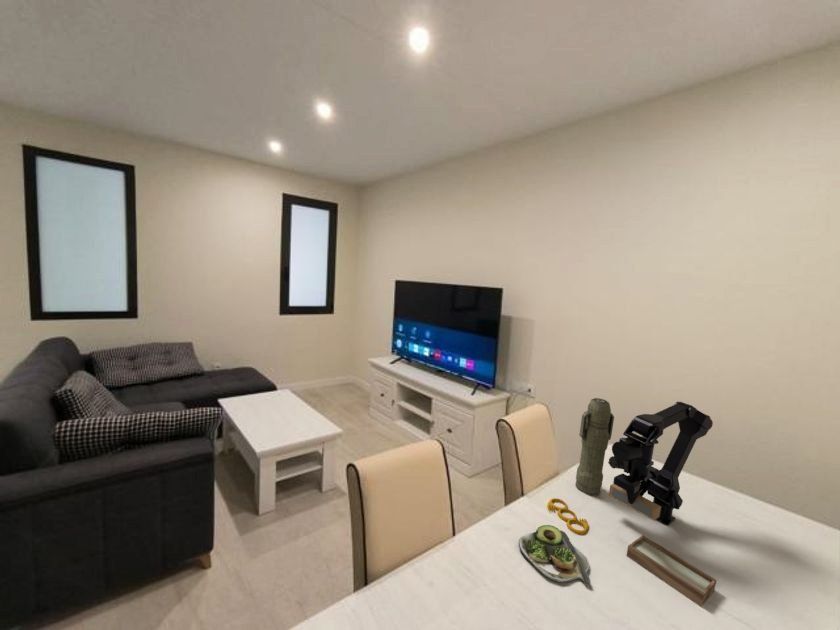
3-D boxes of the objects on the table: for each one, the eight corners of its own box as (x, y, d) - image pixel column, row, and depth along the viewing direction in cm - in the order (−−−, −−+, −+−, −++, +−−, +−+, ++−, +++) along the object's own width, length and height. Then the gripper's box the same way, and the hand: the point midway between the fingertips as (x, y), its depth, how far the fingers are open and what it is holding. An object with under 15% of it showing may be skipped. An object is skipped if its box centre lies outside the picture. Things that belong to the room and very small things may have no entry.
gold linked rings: (567, 536, 109) (596, 535, 111) (567, 532, 109) (597, 530, 111) (540, 502, 125) (566, 501, 127) (541, 498, 125) (567, 497, 127)
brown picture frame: (641, 544, 108) (643, 534, 107) (714, 590, 93) (716, 580, 93) (626, 555, 103) (628, 545, 102) (701, 606, 88) (703, 595, 88)
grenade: (566, 482, 138) (578, 396, 134) (592, 480, 141) (605, 396, 137) (581, 496, 130) (595, 405, 125) (609, 494, 132) (623, 404, 128)
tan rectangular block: (614, 491, 122) (615, 482, 121) (659, 516, 110) (661, 506, 110) (608, 494, 120) (610, 485, 119) (653, 520, 108) (655, 510, 108)
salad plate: (610, 579, 94) (612, 563, 94) (560, 601, 87) (563, 584, 86) (555, 529, 112) (557, 516, 111) (510, 543, 104) (511, 529, 104)
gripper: (629, 439, 125) (622, 481, 126) (600, 450, 114) (593, 495, 116) (664, 454, 115) (657, 498, 117) (637, 468, 105) (629, 516, 107)
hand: (633, 501), depth 115 cm, fingers closed on tan rectangular block, 4 cm apart
